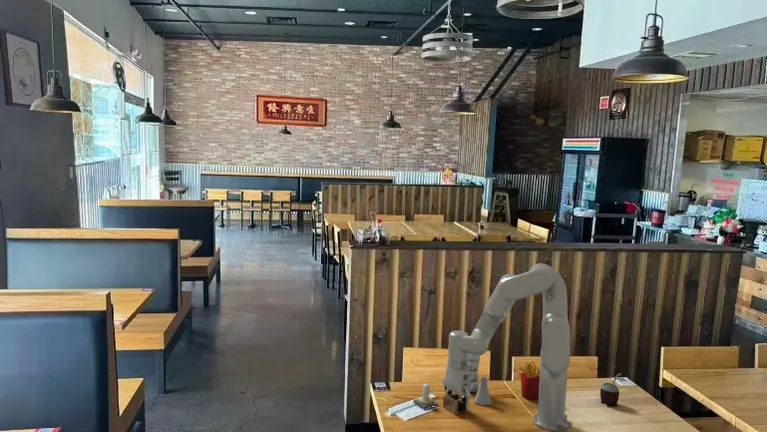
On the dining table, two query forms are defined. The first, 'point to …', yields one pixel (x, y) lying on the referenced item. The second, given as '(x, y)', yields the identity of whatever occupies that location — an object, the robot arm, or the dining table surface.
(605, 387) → the mate gourd
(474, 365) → the plastic bottle
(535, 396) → the french fries
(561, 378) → the robot arm
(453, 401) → the collar
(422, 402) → the post stand
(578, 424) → the dining table surface
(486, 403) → the flask
